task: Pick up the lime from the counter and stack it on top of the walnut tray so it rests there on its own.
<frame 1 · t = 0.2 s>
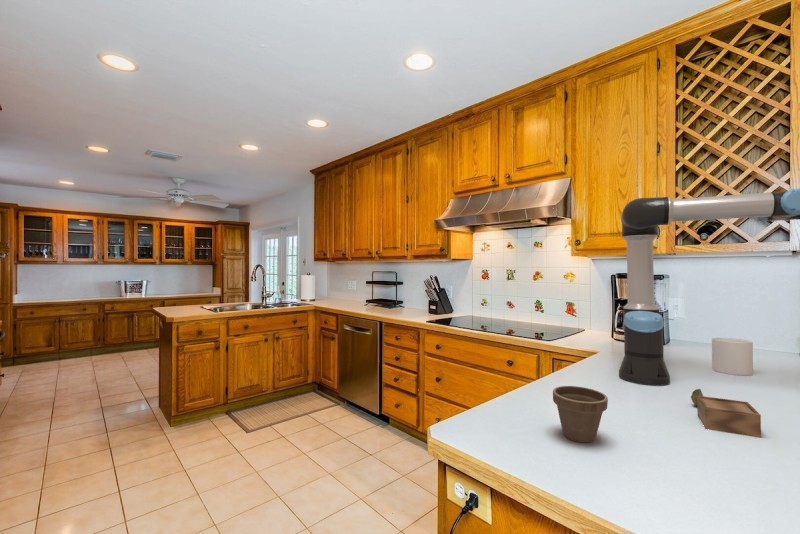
walnut tray: (726, 427, 94), on the countertop
flower pot: (579, 438, 87), on the countertop
lime: (700, 408, 107), on the countertop
cup: (732, 372, 145), on the countertop
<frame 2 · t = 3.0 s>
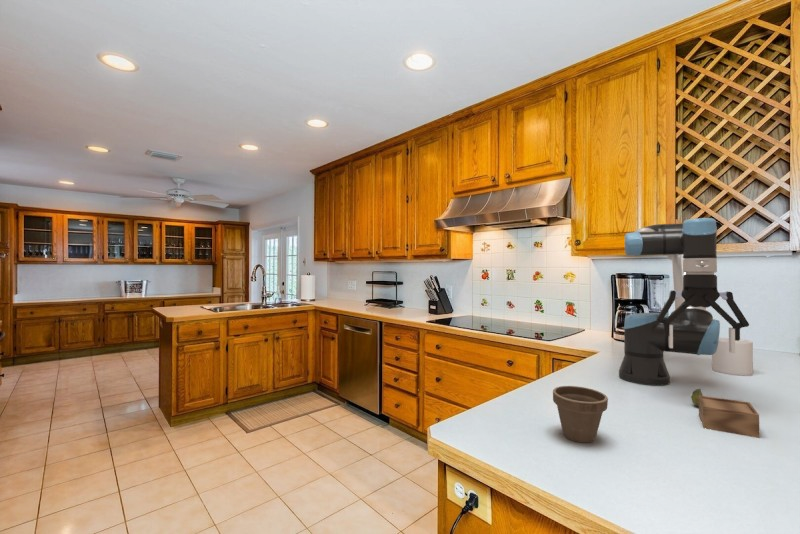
hand: (700, 350, 107), 16 cm above the countertop, fingers open, 13 cm apart
nothing on the countertop moved.
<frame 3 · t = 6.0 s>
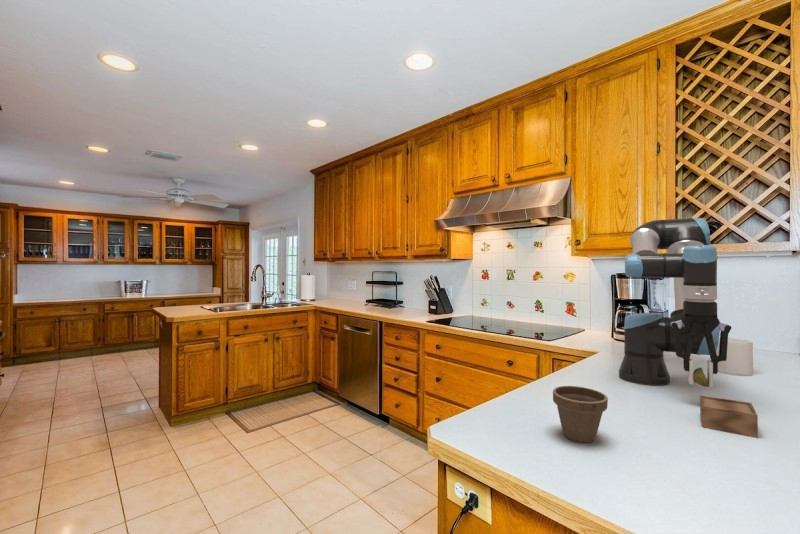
hand: (700, 383, 107), 6 cm above the countertop, fingers closed on lime, 4 cm apart
lime: (702, 386, 107), point 6 cm above the countertop, touching gripper
everything else where it was.
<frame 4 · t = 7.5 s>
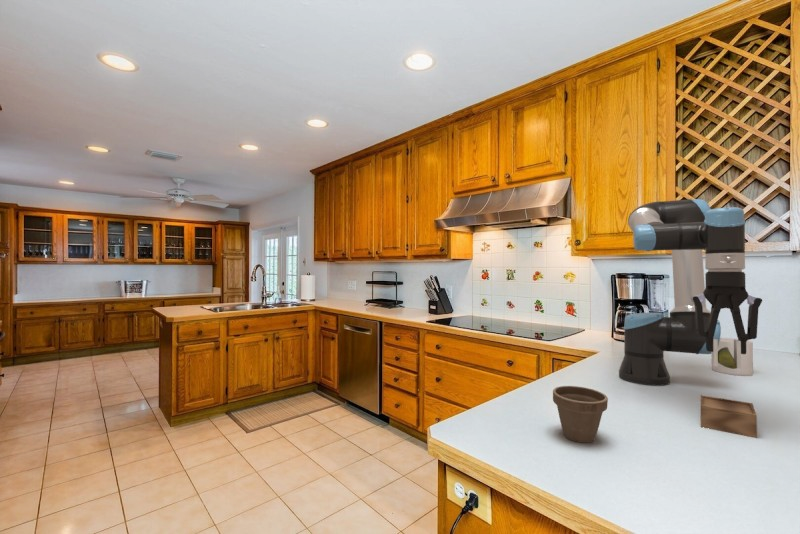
hand: (725, 365, 94), 15 cm above the countertop, fingers closed on lime, 4 cm apart
lime: (728, 368, 93), point 14 cm above the countertop, touching gripper
everything else where it was.
when the fingers open (6 cm above the countertop, at t = 9.3 s): lime stays where it is, resting on walnut tray.
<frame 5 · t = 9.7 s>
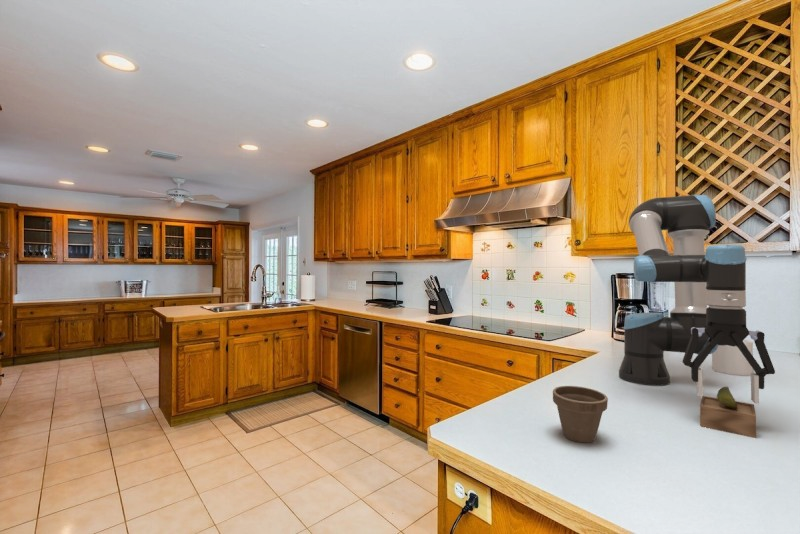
hand: (726, 398, 94), 7 cm above the countertop, fingers open, 10 cm apart
walnut tray: (727, 427, 94), on the countertop, touching lime
lime: (728, 408, 93), point 4 cm above the countertop, touching walnut tray
everything else where it was.
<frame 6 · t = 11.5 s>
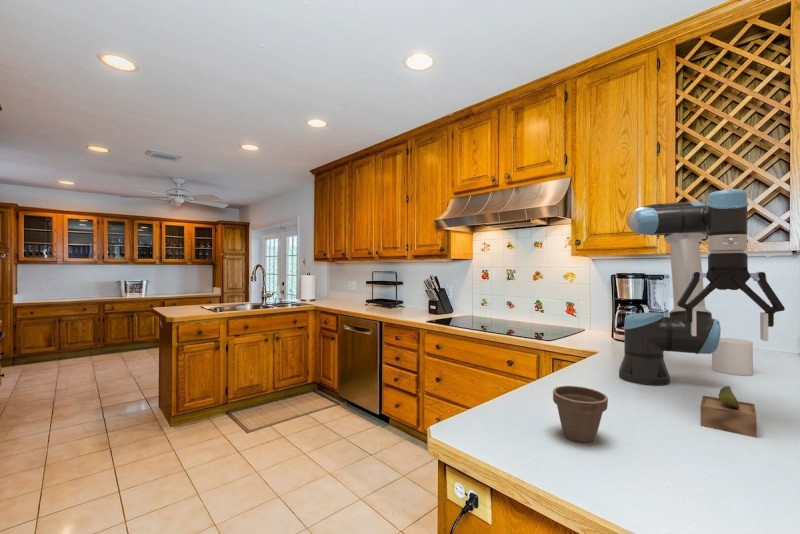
hand: (727, 337, 95), 21 cm above the countertop, fingers open, 13 cm apart
walnut tray: (727, 426, 94), on the countertop
lime: (730, 407, 94), point 4 cm above the countertop
everything else where it was.
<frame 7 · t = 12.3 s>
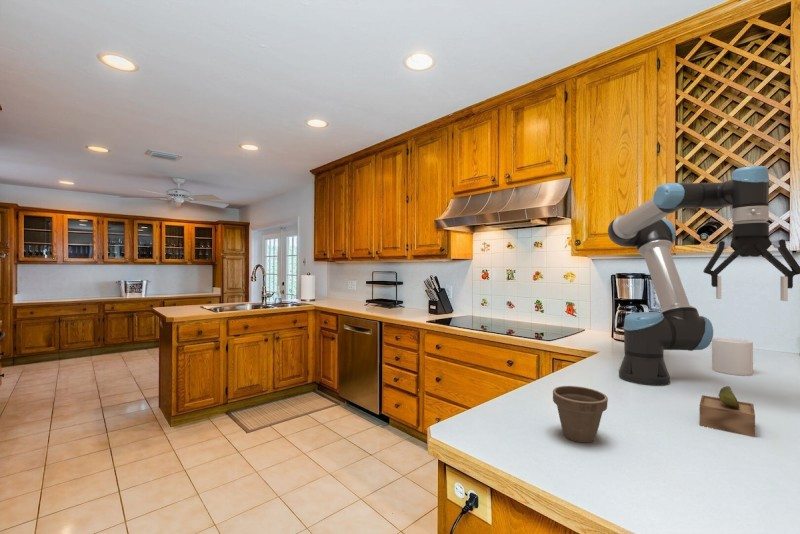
hand: (750, 299, 106), 30 cm above the countertop, fingers open, 13 cm apart
walnut tray: (726, 426, 94), on the countertop, touching lime
lime: (730, 407, 94), point 4 cm above the countertop, touching walnut tray
everything else where it was.
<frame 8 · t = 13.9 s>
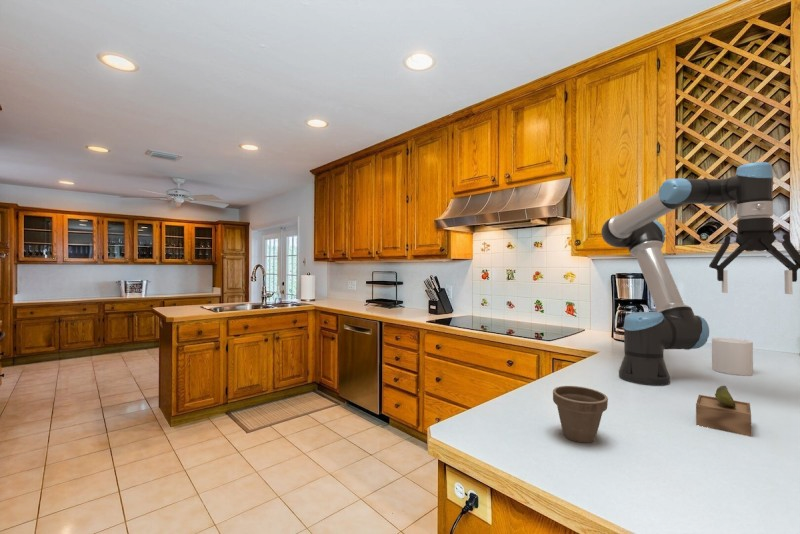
hand: (755, 293, 108), 32 cm above the countertop, fingers open, 13 cm apart
nothing on the countertop moved.
at the end: lime inside the target area on the walnut tray (0.7 cm from its centre), point 4.8 cm above the walnut tray's base; the gripper is holding nothing; lime touching walnut tray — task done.
